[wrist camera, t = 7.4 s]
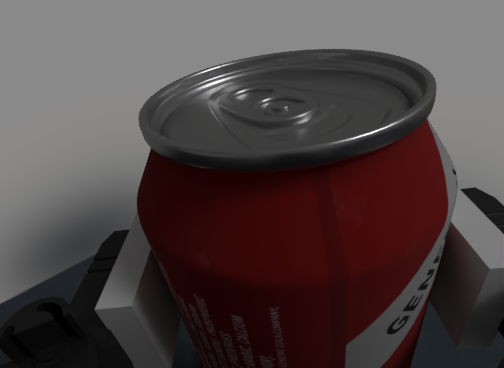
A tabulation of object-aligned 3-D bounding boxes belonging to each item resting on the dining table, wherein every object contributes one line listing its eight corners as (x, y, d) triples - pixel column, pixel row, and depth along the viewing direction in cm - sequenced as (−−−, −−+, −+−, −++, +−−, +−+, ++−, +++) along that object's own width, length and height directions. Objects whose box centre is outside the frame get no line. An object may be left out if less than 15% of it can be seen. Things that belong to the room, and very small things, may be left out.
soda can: (292, 553, 9) (191, 281, 2) (196, 360, 14) (76, 98, 7) (435, 398, 12) (573, 62, 5) (312, 281, 17) (299, 35, 10)
